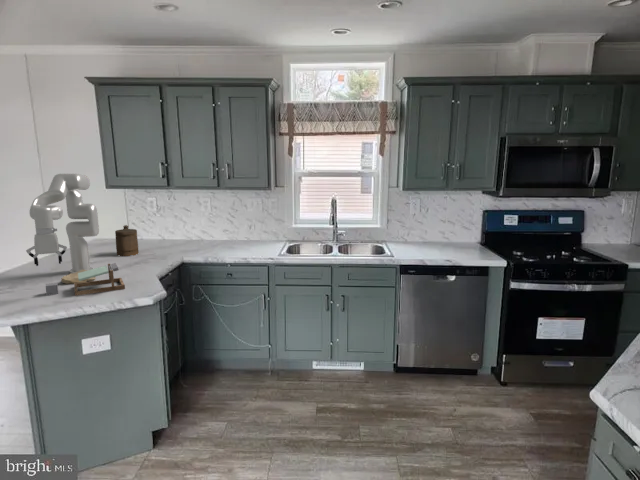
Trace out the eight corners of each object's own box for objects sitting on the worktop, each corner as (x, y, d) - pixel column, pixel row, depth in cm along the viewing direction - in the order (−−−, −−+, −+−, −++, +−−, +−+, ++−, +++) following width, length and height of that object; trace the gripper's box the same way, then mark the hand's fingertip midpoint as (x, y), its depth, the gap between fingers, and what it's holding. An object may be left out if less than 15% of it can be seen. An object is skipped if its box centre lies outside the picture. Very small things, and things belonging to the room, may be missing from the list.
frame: (74, 287, 218) (72, 267, 216) (121, 280, 230) (119, 262, 228) (75, 295, 204) (72, 275, 202) (125, 288, 216) (123, 269, 214)
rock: (100, 275, 241) (100, 269, 240) (95, 284, 227) (95, 277, 226) (67, 276, 236) (66, 269, 235) (60, 286, 222) (59, 278, 220)
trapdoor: (78, 275, 217) (77, 272, 216) (116, 265, 226) (115, 262, 226) (79, 281, 205) (78, 278, 205) (118, 270, 214) (118, 267, 214)
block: (47, 292, 208) (45, 283, 207) (58, 291, 211) (57, 282, 210) (46, 295, 204) (45, 286, 203) (58, 294, 207) (57, 284, 206)
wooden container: (136, 251, 309) (134, 223, 305) (140, 255, 296) (138, 225, 292) (115, 253, 301) (113, 224, 296) (118, 257, 288) (115, 227, 284)
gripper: (65, 229, 209) (68, 261, 212) (24, 231, 200) (28, 265, 203) (65, 231, 203) (68, 263, 206) (23, 233, 194) (27, 268, 197)
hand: (48, 264), depth 204 cm, fingers open, 9 cm apart
